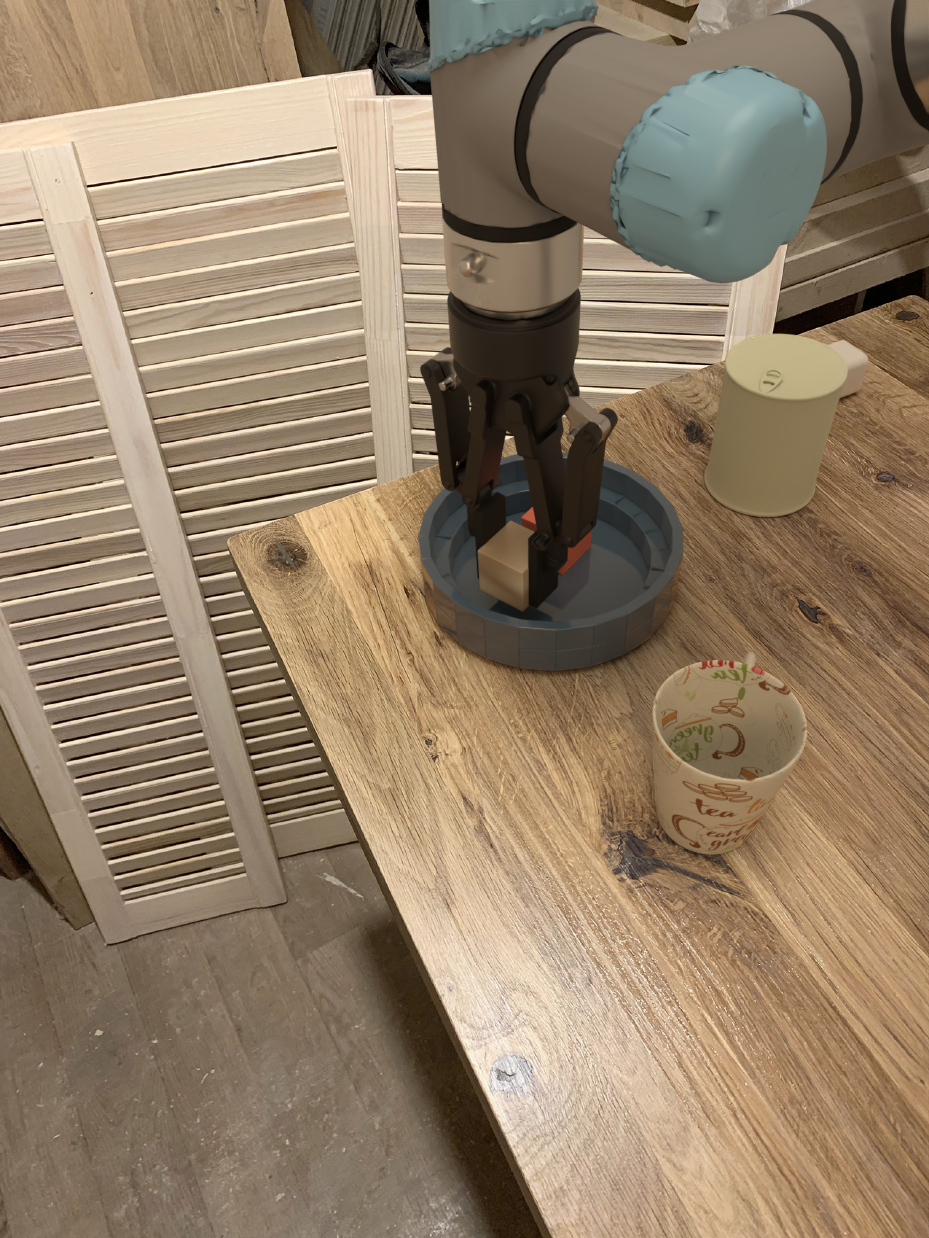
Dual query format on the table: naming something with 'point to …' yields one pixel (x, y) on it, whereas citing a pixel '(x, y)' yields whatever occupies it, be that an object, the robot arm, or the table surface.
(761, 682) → the mug
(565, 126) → the robot arm
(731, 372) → the can
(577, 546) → the coral block
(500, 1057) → the table surface
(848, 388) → the usb wall charger
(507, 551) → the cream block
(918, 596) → the table surface
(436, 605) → the bowl
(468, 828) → the table surface
